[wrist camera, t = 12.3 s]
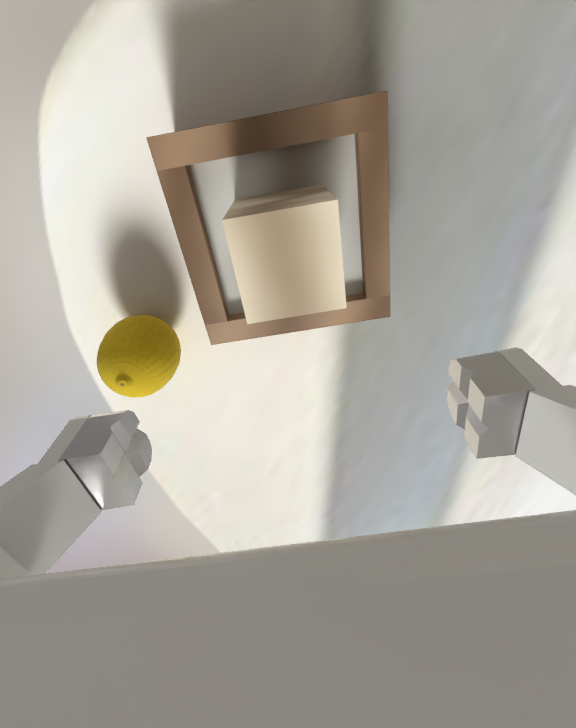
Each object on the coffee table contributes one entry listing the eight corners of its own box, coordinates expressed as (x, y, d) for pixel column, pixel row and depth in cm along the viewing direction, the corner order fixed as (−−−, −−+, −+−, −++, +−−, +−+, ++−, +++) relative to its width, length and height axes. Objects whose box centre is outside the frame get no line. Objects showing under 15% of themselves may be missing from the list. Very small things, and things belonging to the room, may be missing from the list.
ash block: (322, 183, 20) (337, 199, 15) (330, 270, 23) (346, 308, 18) (234, 199, 21) (222, 220, 16) (253, 283, 23) (247, 324, 18)
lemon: (199, 317, 30) (177, 370, 23) (176, 367, 33) (150, 428, 26) (132, 287, 29) (88, 334, 22) (113, 342, 31) (69, 399, 24)
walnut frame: (361, 101, 23) (387, 90, 18) (369, 283, 29) (390, 316, 24) (175, 137, 23) (146, 137, 18) (222, 308, 30) (211, 345, 25)
